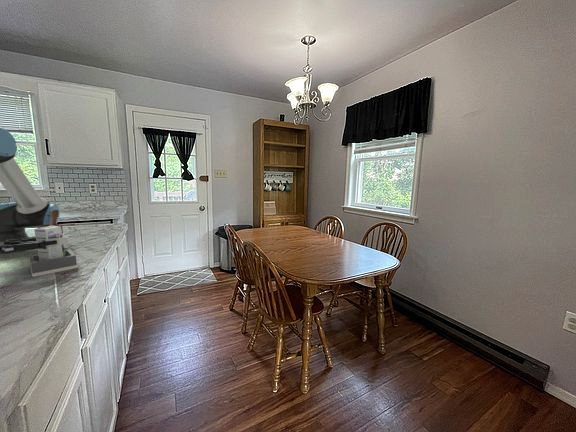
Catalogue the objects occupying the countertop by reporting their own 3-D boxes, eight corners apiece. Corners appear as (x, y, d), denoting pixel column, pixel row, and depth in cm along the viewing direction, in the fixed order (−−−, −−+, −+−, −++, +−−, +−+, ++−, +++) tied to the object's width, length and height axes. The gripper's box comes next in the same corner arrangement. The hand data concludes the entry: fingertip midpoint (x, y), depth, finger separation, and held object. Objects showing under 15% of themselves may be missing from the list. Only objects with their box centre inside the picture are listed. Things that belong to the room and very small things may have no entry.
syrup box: (50, 265, 99) (46, 228, 97) (39, 264, 101) (33, 228, 98) (66, 260, 105) (61, 226, 103) (54, 259, 106) (50, 225, 104)
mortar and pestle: (42, 249, 128) (36, 210, 124) (65, 246, 133) (60, 208, 130) (41, 255, 119) (34, 213, 116) (65, 252, 125) (60, 211, 121)
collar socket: (30, 268, 103) (28, 255, 102) (71, 260, 112) (70, 249, 112) (32, 276, 94) (30, 263, 93) (77, 267, 104) (76, 255, 103)
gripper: (-17, 254, 96) (63, 242, 112) (-21, 267, 82) (71, 252, 99) (-21, 234, 94) (61, 226, 111) (-25, 244, 81) (69, 233, 98)
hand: (66, 238), depth 105 cm, fingers closed on syrup box, 7 cm apart
